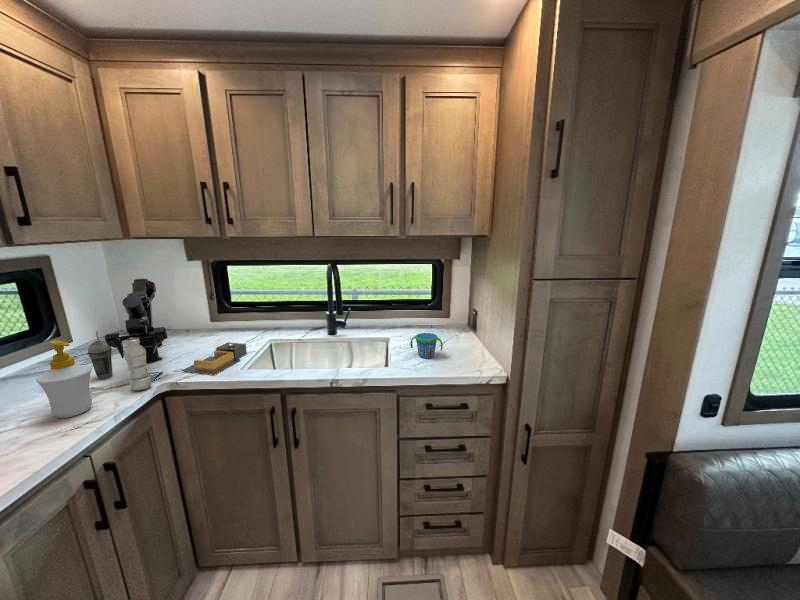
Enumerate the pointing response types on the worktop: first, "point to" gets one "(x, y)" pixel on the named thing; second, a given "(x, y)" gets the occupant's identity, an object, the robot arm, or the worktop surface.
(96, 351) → the beverage cup
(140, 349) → the plastic bottle
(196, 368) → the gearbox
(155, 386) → the worktop surface
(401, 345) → the worktop surface
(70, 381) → the soap bottle
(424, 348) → the snack cup
